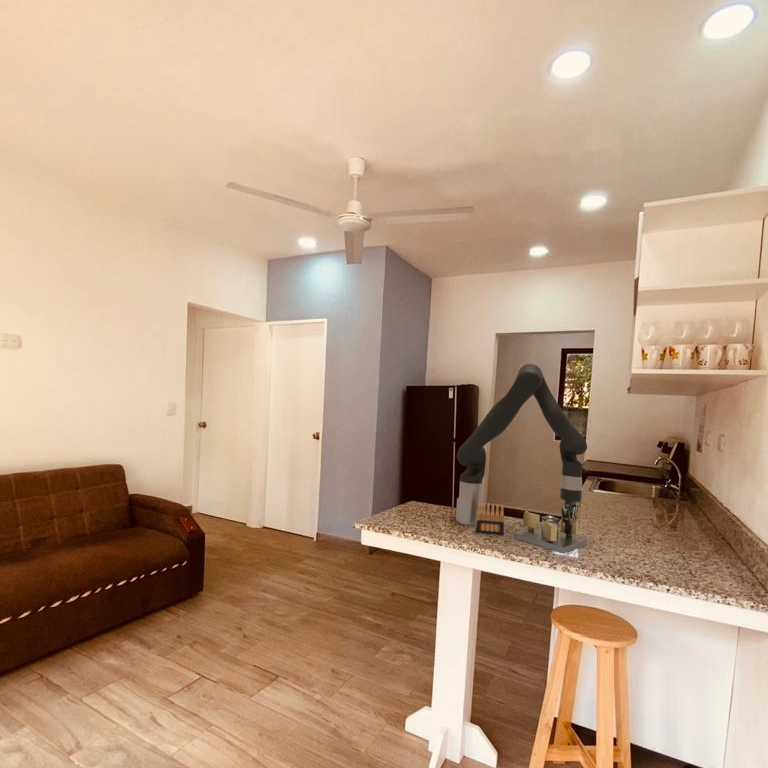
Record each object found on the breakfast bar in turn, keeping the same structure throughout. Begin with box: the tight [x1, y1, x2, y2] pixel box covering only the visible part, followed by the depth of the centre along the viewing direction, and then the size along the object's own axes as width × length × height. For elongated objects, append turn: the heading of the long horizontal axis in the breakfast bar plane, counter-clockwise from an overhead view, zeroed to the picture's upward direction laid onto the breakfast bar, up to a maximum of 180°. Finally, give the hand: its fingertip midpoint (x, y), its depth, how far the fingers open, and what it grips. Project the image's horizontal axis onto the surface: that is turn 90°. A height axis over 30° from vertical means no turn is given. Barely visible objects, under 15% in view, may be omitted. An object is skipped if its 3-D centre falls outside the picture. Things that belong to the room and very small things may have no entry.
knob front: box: [543, 520, 557, 543], centre depth 159 cm, size 2×6×7 cm, turn 6°
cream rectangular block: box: [560, 517, 579, 537], centre depth 167 cm, size 2×6×7 cm, turn 51°
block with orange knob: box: [522, 510, 541, 531], centre depth 172 cm, size 2×6×7 cm, turn 41°
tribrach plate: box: [512, 515, 588, 554], centre depth 166 cm, size 20×18×9 cm
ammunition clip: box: [475, 501, 505, 536], centre depth 171 cm, size 11×2×12 cm, turn 86°
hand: (569, 532), depth 167 cm, fingers open, 3 cm apart
